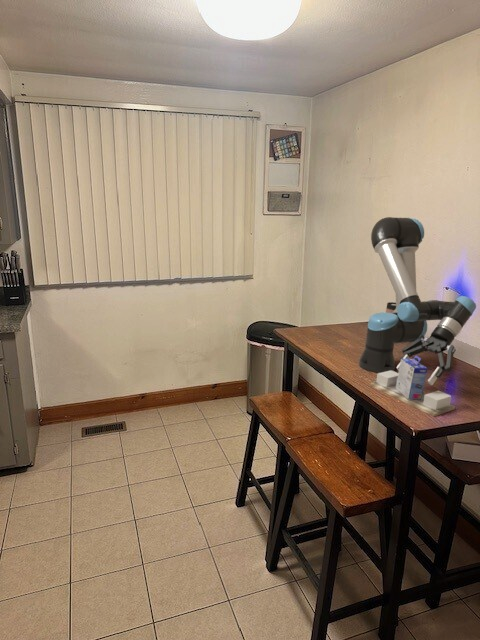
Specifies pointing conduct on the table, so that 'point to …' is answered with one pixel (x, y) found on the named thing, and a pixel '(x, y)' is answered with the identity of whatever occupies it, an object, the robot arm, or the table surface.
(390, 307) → the black tan cylinder
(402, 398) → the rail board
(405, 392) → the ink cartridge box
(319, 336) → the table surface
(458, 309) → the robot arm
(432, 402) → the mounted modules
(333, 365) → the table surface
